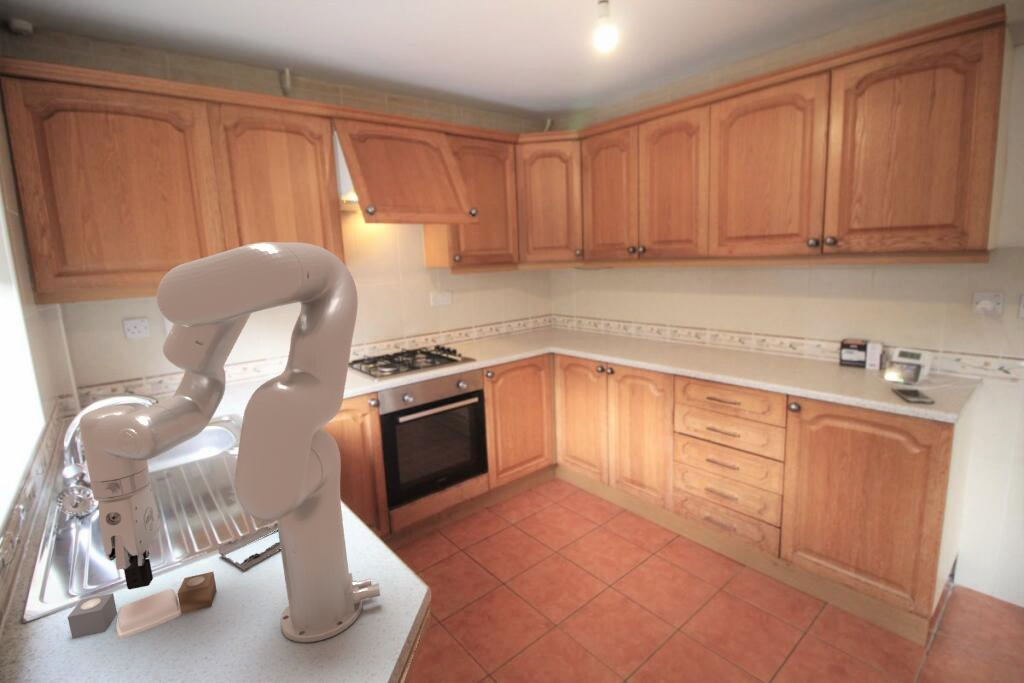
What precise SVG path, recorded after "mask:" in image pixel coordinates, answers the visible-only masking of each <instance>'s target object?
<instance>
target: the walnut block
mask: <svg viewBox="0 0 1024 683" xmlns="http://www.w3.org/2000/svg"><path fill="white" fill-rule="evenodd" d="M215 579H216V578H215V573H214V571H209V572H206V573H200V574H196V575H191V576H187V577H184V578H183V581H182V582H181V584H180V587H179V590H178V591H177V593H176V595H178V599H179V604H180V609H181V615H183V614H186V613H187V614H188V613H191V612H195V611H199V610H204V609H207V608H208V609H209V608H212V606H213V604H214V601H215V598H216V595H217V592H218V591H217V590H218V589H217V585H216V580H215Z"/></svg>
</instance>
